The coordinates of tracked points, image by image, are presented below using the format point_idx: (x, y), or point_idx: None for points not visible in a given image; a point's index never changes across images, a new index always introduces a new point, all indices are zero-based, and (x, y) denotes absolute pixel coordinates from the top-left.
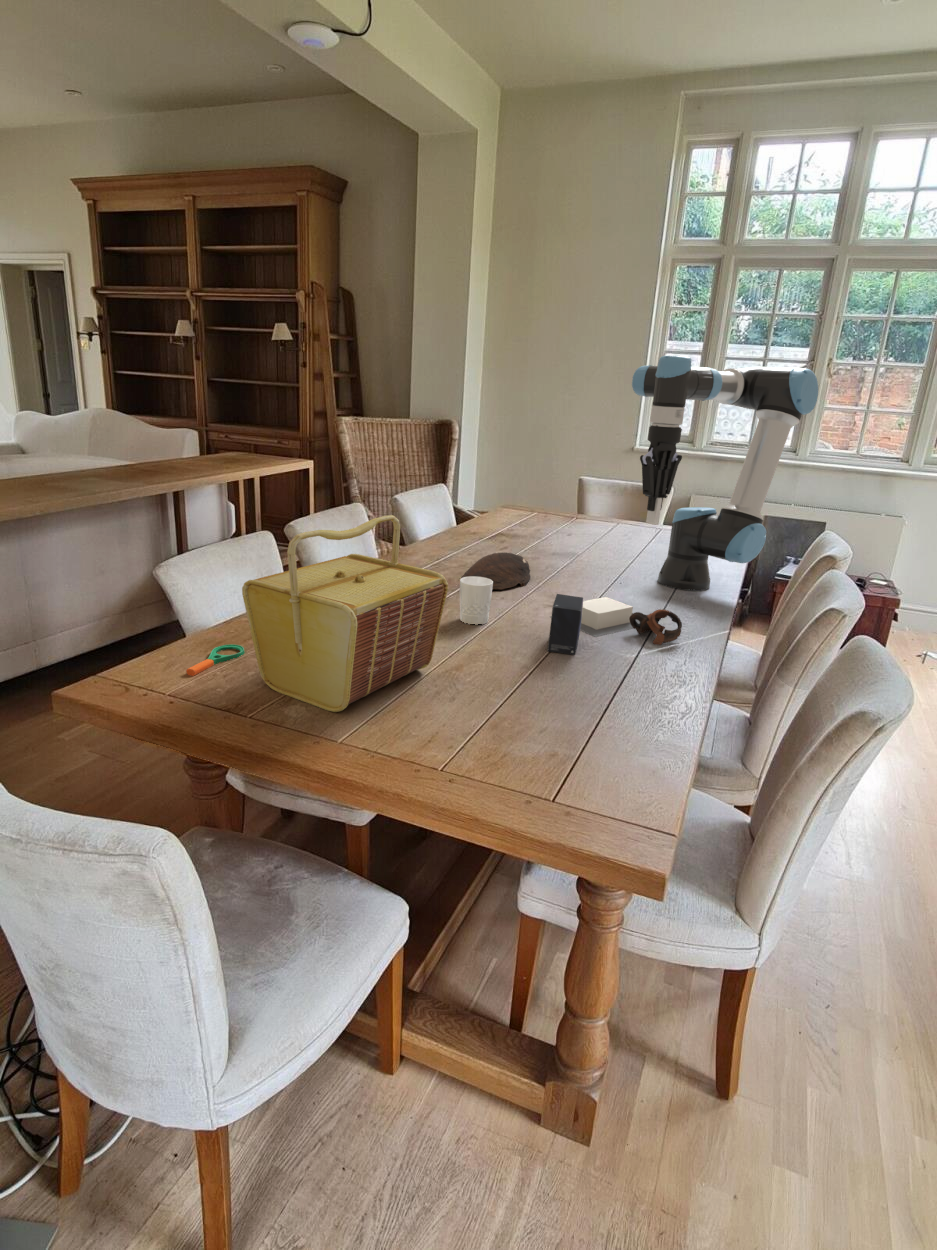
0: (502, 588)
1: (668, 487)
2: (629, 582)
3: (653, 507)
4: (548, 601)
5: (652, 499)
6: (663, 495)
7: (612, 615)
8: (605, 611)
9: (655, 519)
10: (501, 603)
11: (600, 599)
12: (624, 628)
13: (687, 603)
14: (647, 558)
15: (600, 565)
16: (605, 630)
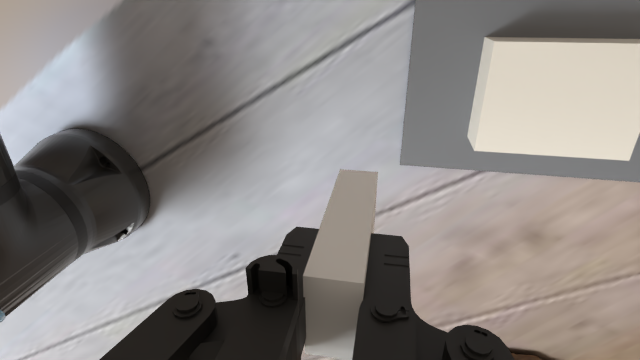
0: (532, 357)
1: (173, 352)
2: (209, 250)
3: (385, 251)
4: (505, 260)
5: (410, 305)
6: (285, 290)
7: (589, 41)
8: (626, 50)
9: (373, 187)
10: (621, 305)
11: (513, 143)
12: (557, 3)
13: (193, 80)
14: (58, 322)
15: None
16: (627, 19)
